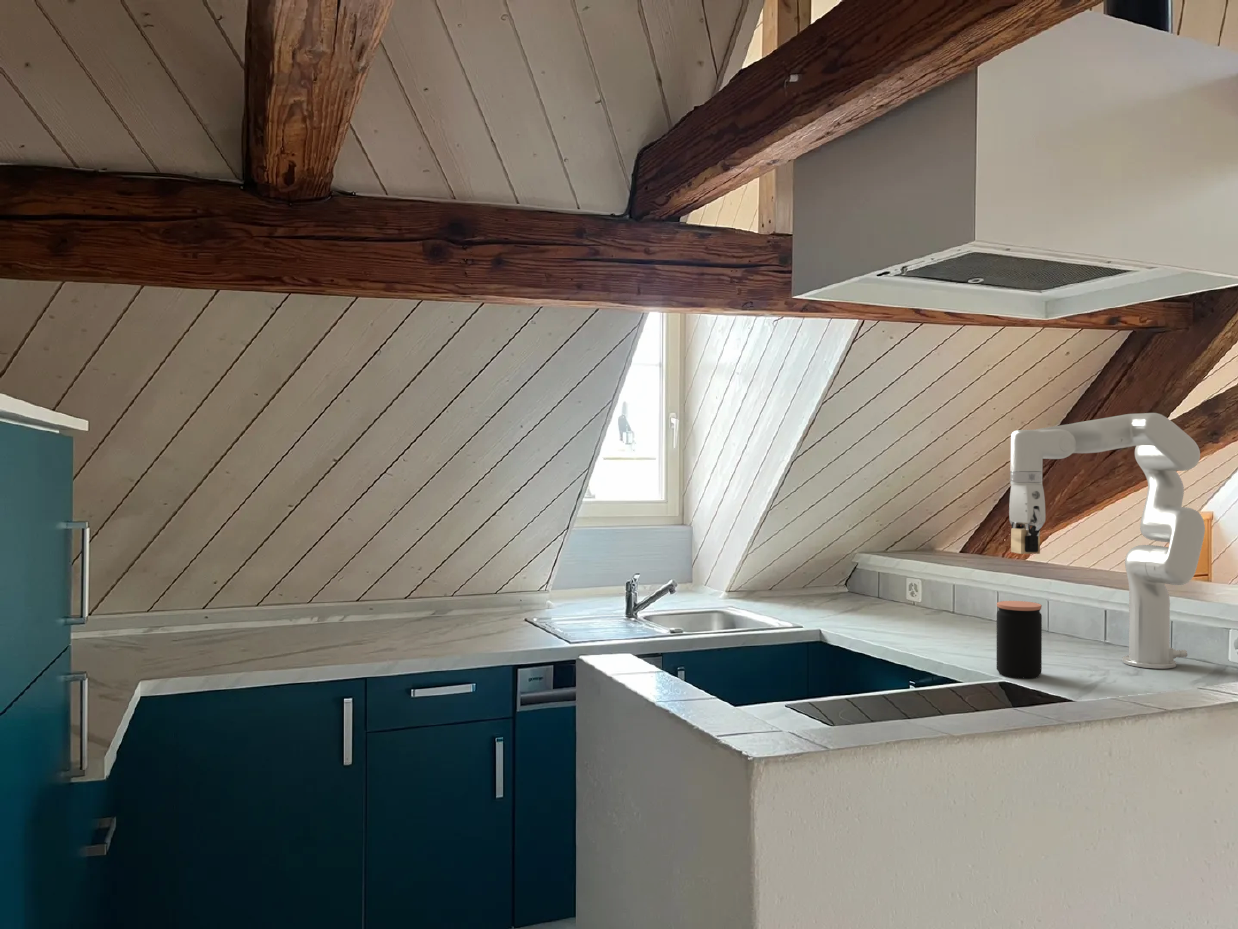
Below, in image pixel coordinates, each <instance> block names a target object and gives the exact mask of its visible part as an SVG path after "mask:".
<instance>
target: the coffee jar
mask: <svg viewBox="0 0 1238 929" xmlns="http://www.w3.org/2000/svg"><path fill="white" fill-rule="evenodd" d="M1042 606H1043V605H1042V604H1040V603H1037V602H1033V601H1026V600H1024V601H1023V600H1003V601H997V602H996V607H997V608H998V610H997V611H996V670H997V672H998V674H999V675H1001V676H1003V677H1006V678H1012V679H1023V680H1025V679H1026V680H1029V679H1030V680H1031V679H1037V678H1038V676H1039V677H1040V675H1041V673H1042V671H1043V670H1042V666H1043V665H1042V663H1043V662H1042V656H1043V655H1042V653H1043V652H1042V646H1043V645H1042V644H1043V642H1042V641H1043V640H1042V639H1043V638H1042V637H1043V636H1042V635H1043V634H1042V633H1043V631H1042V628H1043V627H1042V626H1043V625H1042V623H1043V622H1042V621H1043V619H1042V618H1043V615H1042V613H1041V610H1042ZM1036 677H1037V678H1036Z"/></svg>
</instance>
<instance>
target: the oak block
mask: <svg viewBox="0 0 1238 929" xmlns="http://www.w3.org/2000/svg"><path fill="white" fill-rule="evenodd" d="M1031 528H1032V527H1030V529H1031ZM1025 536H1027V533H1026V528H1012V527H1011V528H1010V552H1011V553H1014V554H1020V555H1038V554H1041V530H1040V531H1039V536H1038V552H1025Z"/></svg>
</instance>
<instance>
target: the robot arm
mask: <svg viewBox="0 0 1238 929" xmlns="http://www.w3.org/2000/svg"><path fill="white" fill-rule="evenodd" d="M1130 447H1134V448H1135V449H1134V458H1135V461H1136V462H1137V464H1138V466H1139V467H1140V469H1141V470H1142V472H1143V474H1144V475H1145V478H1146V481H1147V494H1146V498H1145V502H1144V505H1143V506H1144V507H1143V510H1142V514H1141V519H1140V524H1139V526H1140V528H1139V529H1140V534H1142V536H1143V537H1144V538H1146V539H1147V540H1150V541H1155V542H1161V543H1163V542H1164V543H1168V546H1164V545H1163V546H1162V545H1153V544H1152V545H1151V544H1140V545H1135V546H1134V547H1131V548H1130V549H1129V550H1128V552H1127V553H1126V556H1125V559H1124V568H1125V572H1126V577H1127V581H1128V592H1129V593H1128V597H1129V598H1128V603H1129V604H1128V605H1129V606H1128V607H1129V608H1128V649H1129V650H1128V655H1125V656H1123V657H1122V660H1121V661H1122V663H1124V664H1126V665H1129V666H1133V667H1139V668H1146V669H1154V670H1155V669H1163V670H1164V669H1173V668H1176V666H1177V662H1176V660H1174V659H1176V658H1187V657H1188V652H1187V650H1186V649H1176V648H1173V647H1170V639H1171V638H1170V627H1171V626H1170V623H1171V622H1170V618H1171V615H1170V608H1171V603H1170V601H1171V600H1170V594H1169V592H1168V591H1169V590H1168V588H1167V587H1166V584H1167V585H1172V586H1184V585H1186V584H1188V583H1189V582H1191V580H1193V578H1194V576H1195V573H1196V571H1197V567H1198V563H1199V561H1200V560H1199V559H1200V555H1201V552H1202V548H1203V543H1204V540H1205V532H1206V527H1205V520H1204V517H1203V516H1202V514H1201V513H1200V512H1199V511H1198V510H1196V509H1194V508H1191V507H1185V506H1183V500H1184V495H1185V486H1184V484H1183V481H1182V478H1181V476H1180V475H1179V473H1178V472H1182V471H1183V472H1184V471H1185V472H1186V471H1189V470H1192V469H1194V468H1195V467H1196V466H1197V465H1198V463H1199V461H1200V459H1201V451H1200V448H1199V446H1198V444H1197V442H1196V441H1195V440H1194V439H1193V437H1191V436H1190V435H1189V434H1188V433H1187V432H1185V431H1184V430H1183V429H1182V428H1181V427H1180V426H1179V425H1177V424H1176V423H1174V422H1173V421H1172V420H1170V419H1169V418H1168V417H1166V415H1163V414H1161V413H1157V412H1146V413H1145V412H1143V413H1127V414H1121V415H1115V416H1109V417H1103V418H1097V419H1091V420H1086V421H1084V420H1083V421H1079V422H1078V421H1077V422H1074V423H1073V422H1072V423H1069V424H1068V423H1066V424H1061V425H1053V426H1048V427H1042V428H1036V429H1017V430H1014V431H1012V432H1011V435H1010V458H1009V459H1010V468H1009V469H1010V472H1009V474H1010V476H1009V477H1010V478H1009V479H1010V480H1009V483H1010V485H1011V486H1010V491H1009V492H1010V493H1009V507H1008V511H1009V512H1008V515H1009V519H1008V520H1009V523H1010V525H1011V528H1026V533H1027V536H1025V552H1038V536H1039V531H1040V532H1041V528H1042V527H1043V526H1044V524H1045V522H1046V501H1045V499H1046V498H1045V490H1044V486H1043V461H1044V460H1043V459H1045V460H1046V459H1047V460H1048V459H1049V460H1060V459H1062V460H1063V459H1065V458H1067V457H1070V456H1071V455H1072V454H1094V453H1102V452H1108V451H1112V450H1118V449H1124V448H1130ZM1177 471H1178V472H1177ZM1030 528H1031V529H1030Z"/></svg>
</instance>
